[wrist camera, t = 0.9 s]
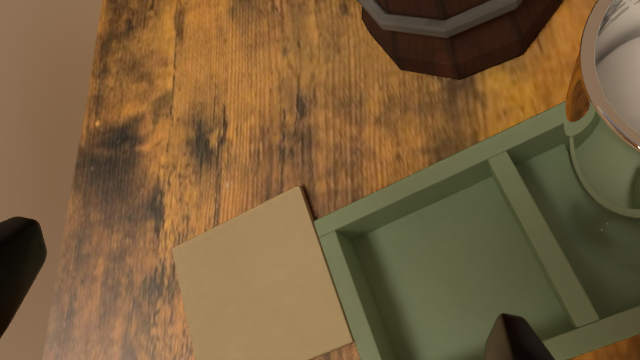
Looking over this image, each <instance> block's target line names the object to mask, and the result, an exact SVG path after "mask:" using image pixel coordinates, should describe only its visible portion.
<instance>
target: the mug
mask: <svg viewBox="0 0 640 360" xmlns="http://www.w3.org/2000/svg"><path fill="white" fill-rule="evenodd" d="M357 1H358V2H359V3H360V4H361V5H362V20H363V22H364V24H365V25H366V27H367V29H368V31H369V33H370V34H371V35H372V36H373V38H374V39H375V40H376V41H377V42H378V44H379V45H380V46H381V47H382V48H383V49H384V51H385V52H386V53H387V54H388V55H389V57H390V58H391V59H392V60H393V61H394V62H395V64H396V65H397V66H398V67H399V68H400V70H406V71H412V72H418V73H423V74H429V75H435V76H441V77H447V78H453V79H461V78H464V77H466V76H469V75H471V74H474V73H476V72H479V71H481V70H484V69H486V68H489V67H491V66H494V65H496V64H499V63H501V62H504V61H506V60H509V59H511V58H514V57H516V56H519V55H521V54H523V52H524V51H525V50H526V48H527V47H528V46H529V44H530V43H531V42H532V40H533V39H534V38H535V37H536V35H537V34H538V33H539V31H540V30H541V29H542V27H543V26H544V25H545V23H546V22H547V21H548V19H549V18H550V17H551V15H552V14H553V13H554V12H555V10H556V9H557V8H558V6H559V5H560V4H561V1H562V0H357Z"/></svg>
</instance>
